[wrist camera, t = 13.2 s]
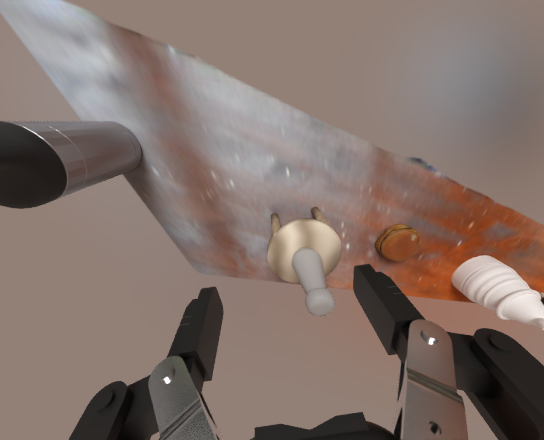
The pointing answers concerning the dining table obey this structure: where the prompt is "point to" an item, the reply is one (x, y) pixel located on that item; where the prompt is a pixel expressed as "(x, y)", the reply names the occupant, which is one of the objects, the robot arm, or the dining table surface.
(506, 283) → the honey pot
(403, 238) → the burger
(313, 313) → the salt shaker
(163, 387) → the robot arm
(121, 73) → the dining table surface
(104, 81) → the dining table surface
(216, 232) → the dining table surface
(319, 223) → the stool
